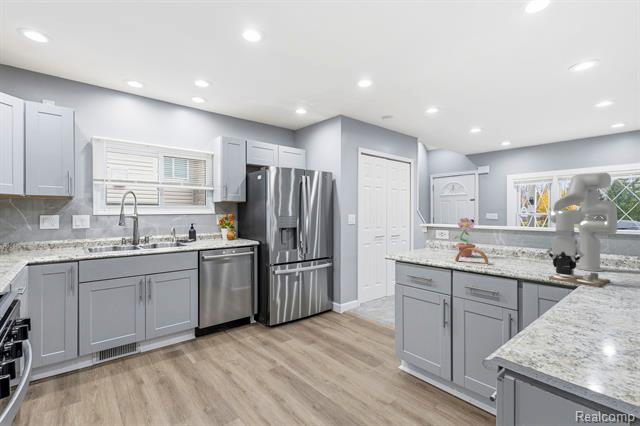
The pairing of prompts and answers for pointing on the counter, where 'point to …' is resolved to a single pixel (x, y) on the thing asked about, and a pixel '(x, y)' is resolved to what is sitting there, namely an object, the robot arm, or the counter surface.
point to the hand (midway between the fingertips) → (564, 267)
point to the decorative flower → (465, 225)
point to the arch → (473, 250)
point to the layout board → (581, 279)
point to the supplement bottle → (563, 264)
